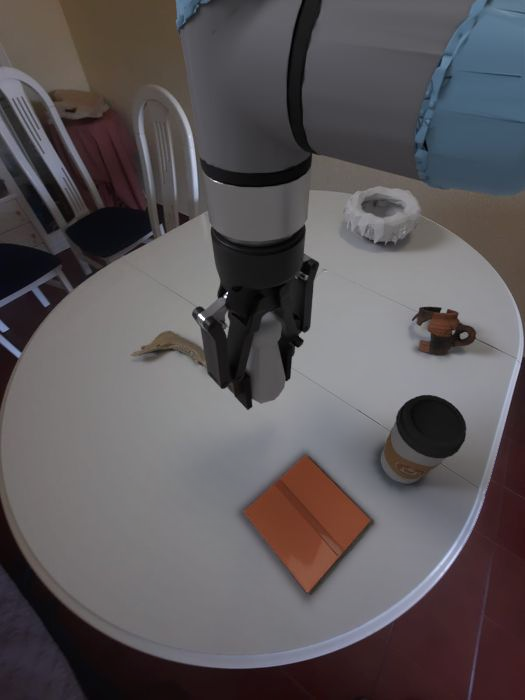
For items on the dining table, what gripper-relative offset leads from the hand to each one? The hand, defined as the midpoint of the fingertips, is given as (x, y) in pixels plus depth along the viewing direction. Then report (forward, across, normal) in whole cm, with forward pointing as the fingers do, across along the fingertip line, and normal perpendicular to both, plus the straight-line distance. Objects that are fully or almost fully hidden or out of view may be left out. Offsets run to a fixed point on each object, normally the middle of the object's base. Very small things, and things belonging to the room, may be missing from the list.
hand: (262, 387), depth 44 cm
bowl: (+17, -66, -27) cm, 73 cm away
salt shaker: (+1, 0, 0) cm, 1 cm away
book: (+17, +3, +13) cm, 21 cm away
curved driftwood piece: (+17, +2, -23) cm, 29 cm away
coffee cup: (+17, -14, +17) cm, 28 cm away
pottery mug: (+17, -42, +6) cm, 46 cm away
